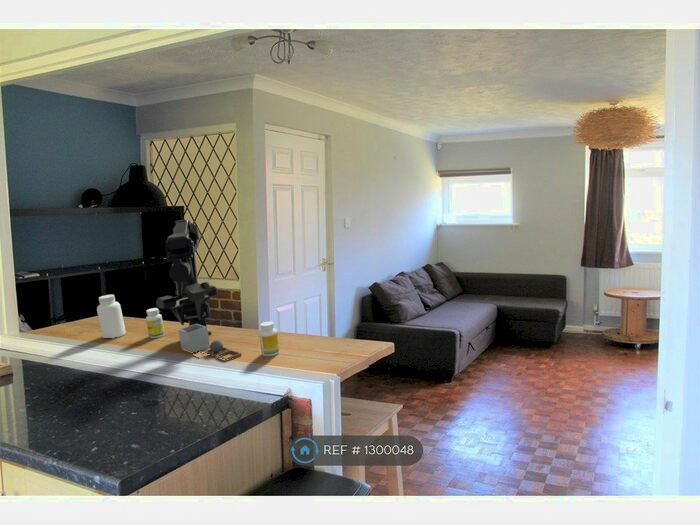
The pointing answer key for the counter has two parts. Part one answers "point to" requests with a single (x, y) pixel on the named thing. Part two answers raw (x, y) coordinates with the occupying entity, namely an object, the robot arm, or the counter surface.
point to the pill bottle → (110, 317)
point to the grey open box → (194, 338)
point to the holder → (226, 351)
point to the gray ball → (216, 346)
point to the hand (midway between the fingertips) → (191, 322)
